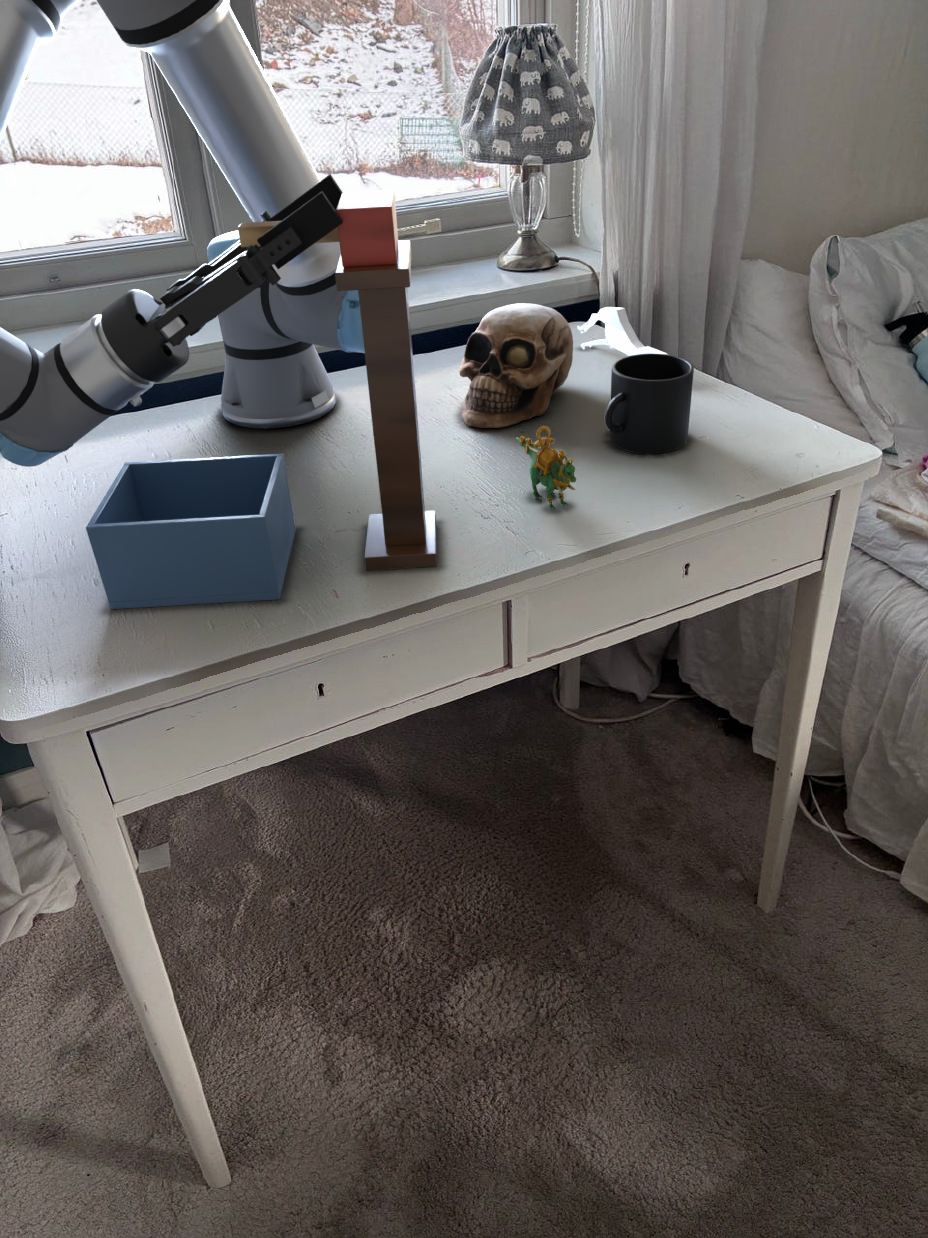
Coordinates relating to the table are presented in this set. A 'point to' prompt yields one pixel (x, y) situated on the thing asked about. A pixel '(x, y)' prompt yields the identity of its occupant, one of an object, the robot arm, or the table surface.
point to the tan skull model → (515, 364)
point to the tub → (194, 531)
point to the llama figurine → (617, 332)
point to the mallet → (352, 229)
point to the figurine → (548, 467)
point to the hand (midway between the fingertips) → (335, 197)
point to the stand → (392, 416)
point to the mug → (650, 403)
